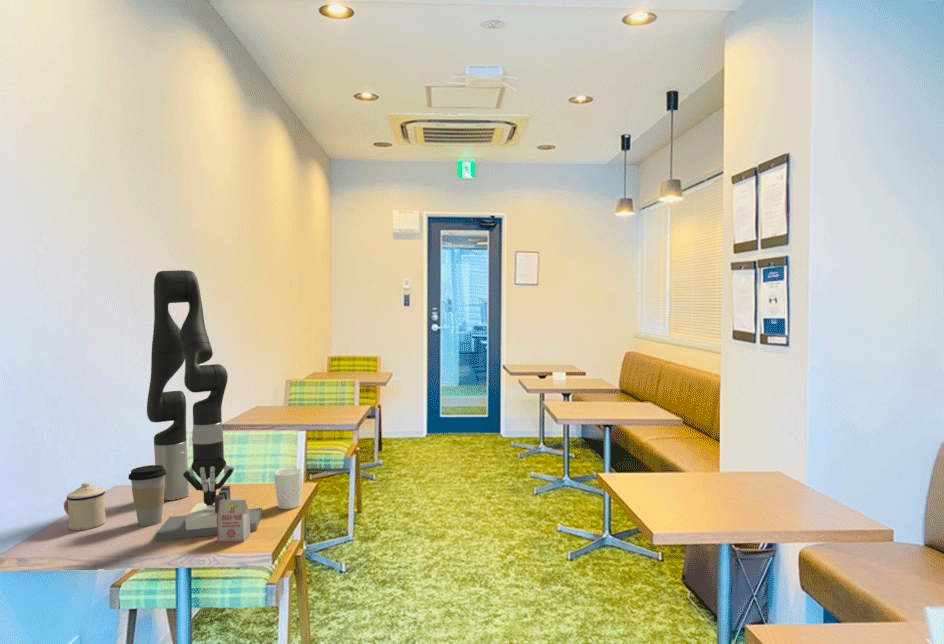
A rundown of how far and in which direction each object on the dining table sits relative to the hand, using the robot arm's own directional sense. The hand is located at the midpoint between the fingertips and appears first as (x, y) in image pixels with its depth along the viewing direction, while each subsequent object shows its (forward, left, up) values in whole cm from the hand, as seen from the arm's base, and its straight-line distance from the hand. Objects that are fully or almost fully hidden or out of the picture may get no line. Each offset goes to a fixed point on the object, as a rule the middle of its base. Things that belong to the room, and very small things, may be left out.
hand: (210, 504), depth 167 cm
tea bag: (+11, +8, -6) cm, 15 cm away
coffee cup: (-10, -18, -6) cm, 21 cm away
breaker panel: (0, 0, -6) cm, 6 cm away
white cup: (-13, +19, -6) cm, 24 cm away
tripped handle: (0, +3, -1) cm, 4 cm away
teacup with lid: (-14, -36, -6) cm, 39 cm away
